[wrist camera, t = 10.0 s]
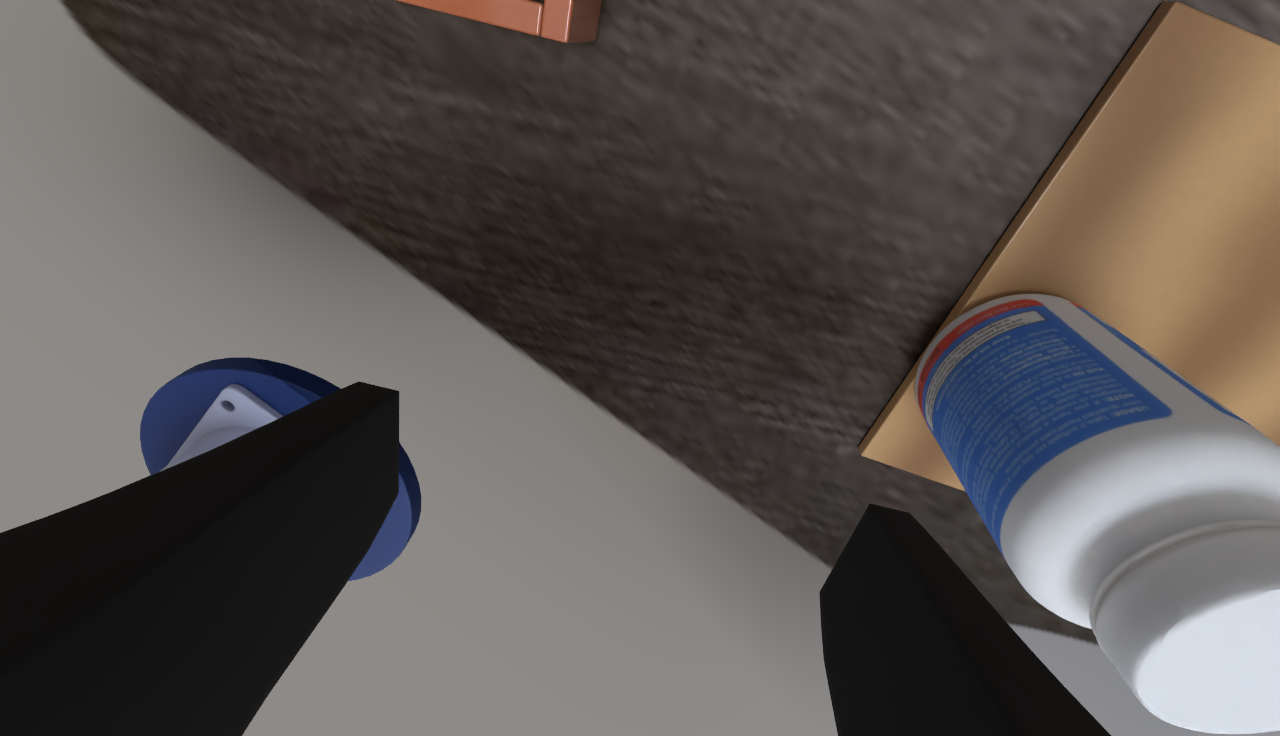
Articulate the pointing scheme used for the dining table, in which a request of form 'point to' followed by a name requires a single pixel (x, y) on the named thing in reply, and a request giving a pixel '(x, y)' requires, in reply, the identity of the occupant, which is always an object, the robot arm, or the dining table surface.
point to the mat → (1152, 226)
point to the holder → (528, 16)
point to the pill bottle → (1119, 501)
